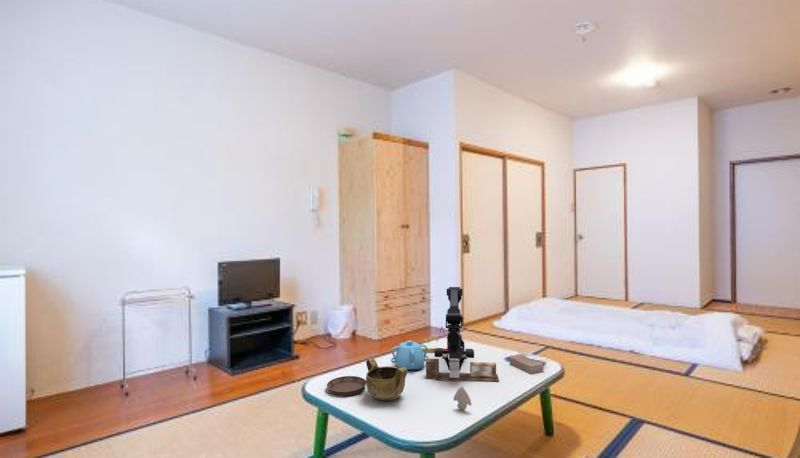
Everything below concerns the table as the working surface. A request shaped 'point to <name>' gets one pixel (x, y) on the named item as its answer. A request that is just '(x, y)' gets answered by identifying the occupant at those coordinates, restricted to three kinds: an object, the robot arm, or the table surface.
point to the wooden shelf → (434, 373)
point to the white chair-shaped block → (454, 368)
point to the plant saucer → (346, 385)
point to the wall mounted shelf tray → (482, 369)
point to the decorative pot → (409, 355)
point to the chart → (429, 341)
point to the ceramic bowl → (384, 380)
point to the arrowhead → (462, 398)
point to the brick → (526, 364)
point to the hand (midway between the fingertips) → (454, 370)
